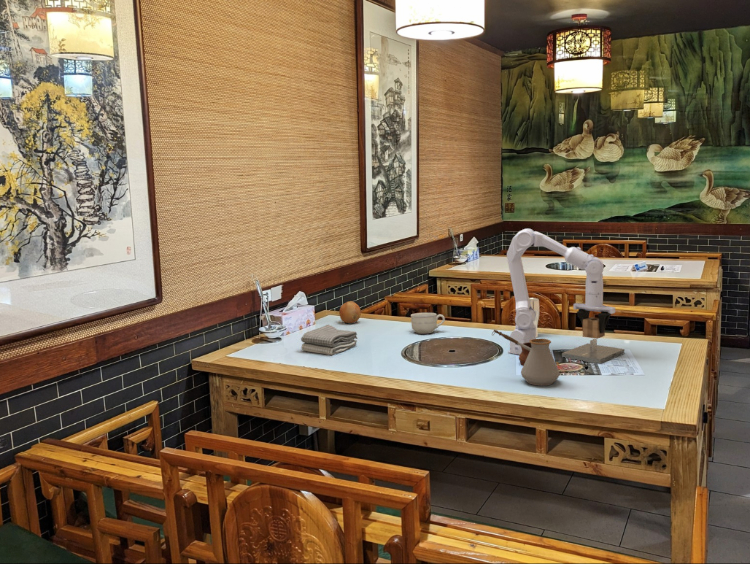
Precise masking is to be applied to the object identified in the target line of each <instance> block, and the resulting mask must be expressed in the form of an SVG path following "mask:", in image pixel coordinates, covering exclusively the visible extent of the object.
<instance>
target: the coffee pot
mask: <svg viewBox="0 0 750 564" xmlns="http://www.w3.org/2000/svg"><path fill="white" fill-rule="evenodd" d="M495 334H498V335H499V336H501V337H502V338H504V339H506V340H507V341H509V342H510V341H511V342H513V343H516V344H518V345H520V346H522V347H523V348H525V349H527V350H529V351H530V352H529V354H528V357H527V359H526V361H525V364H524V366H523V365H522V366H523V367H522V369H521V371H520V375H521V377H522V378H523V380H525V381H526V382H527V383H528V384H530V385H534V386H541V387H542V386H549V385H553V383H555V382H556V381H557V380H558V378H559V377H560V371H559V368H558V365H556V364H557V362H555V360H554V357H553V355H552V352H551V350H550V344H552V341H551V340H550V339H547V338H536V339H532V340H530V341H529V342H530V343H531V346H532V348H530V347H528V346H526V345H524V344H522V343H520V342H518V341H516V340H515V339H513V338H511V337H510V335H508V334H505V333H502V331H499V330H497V329H493V331H492V333H491V335H492V336H494V335H495Z"/></svg>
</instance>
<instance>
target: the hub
mask: <svg viewBox="0 0 750 564" xmlns="http://www.w3.org/2000/svg"><path fill="white" fill-rule="evenodd" d="M623 353H624V354H625V349H624V348H619V347H613V346H606V345H600V344H598V339H596V338H592V339H591V340H589V343H586V344H583V345H580V346H577V347H574V348H572V349H569V350H566V351H564V352H562V353H561V358H563V357H565V359H569V358H571V359H570V360H575V359H577V360H576V361H580V360H583V362H588V363H593V364H598V365H601V364H602V363H605V362H607V361H610V360H612V359H615V358H617V357H619V356H621V354H622V355H624V354H623ZM614 357H615V358H614Z"/></svg>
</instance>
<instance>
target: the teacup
mask: <svg viewBox="0 0 750 564" xmlns="http://www.w3.org/2000/svg"><path fill="white" fill-rule="evenodd" d="M440 317H441V319H442V320H441V322H439V323H437V321H438V319H439V318H440ZM445 320H446V317H445V316H444V315H443V314H440V313H439V314H437V313H434V312H417V313H412V314H410V321H411V323H410V324H411V329H412V330H413V331H414V332H415V333H416V334H422V335H423V334H425V335H426V334H433V332H434V331H435V330H437V329H438V328H439V327H440V326H441V325H443V324H444V322H445Z"/></svg>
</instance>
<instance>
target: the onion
mask: <svg viewBox="0 0 750 564" xmlns="http://www.w3.org/2000/svg"><path fill="white" fill-rule="evenodd" d="M361 311H362V310H361V308H360V306H359V305H358V304H357V303H356V302H355V301H353V300H350V301H346V302H345V303H343V304H342V305H340V308H339V311H338V314H339V317H340V320H341V321H342V322H343V323H345V322H346V323H345V324H347V323H351V324H354V322H355V323H356V322H357V321H359V320H360V318H361V314H362V312H361Z"/></svg>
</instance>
